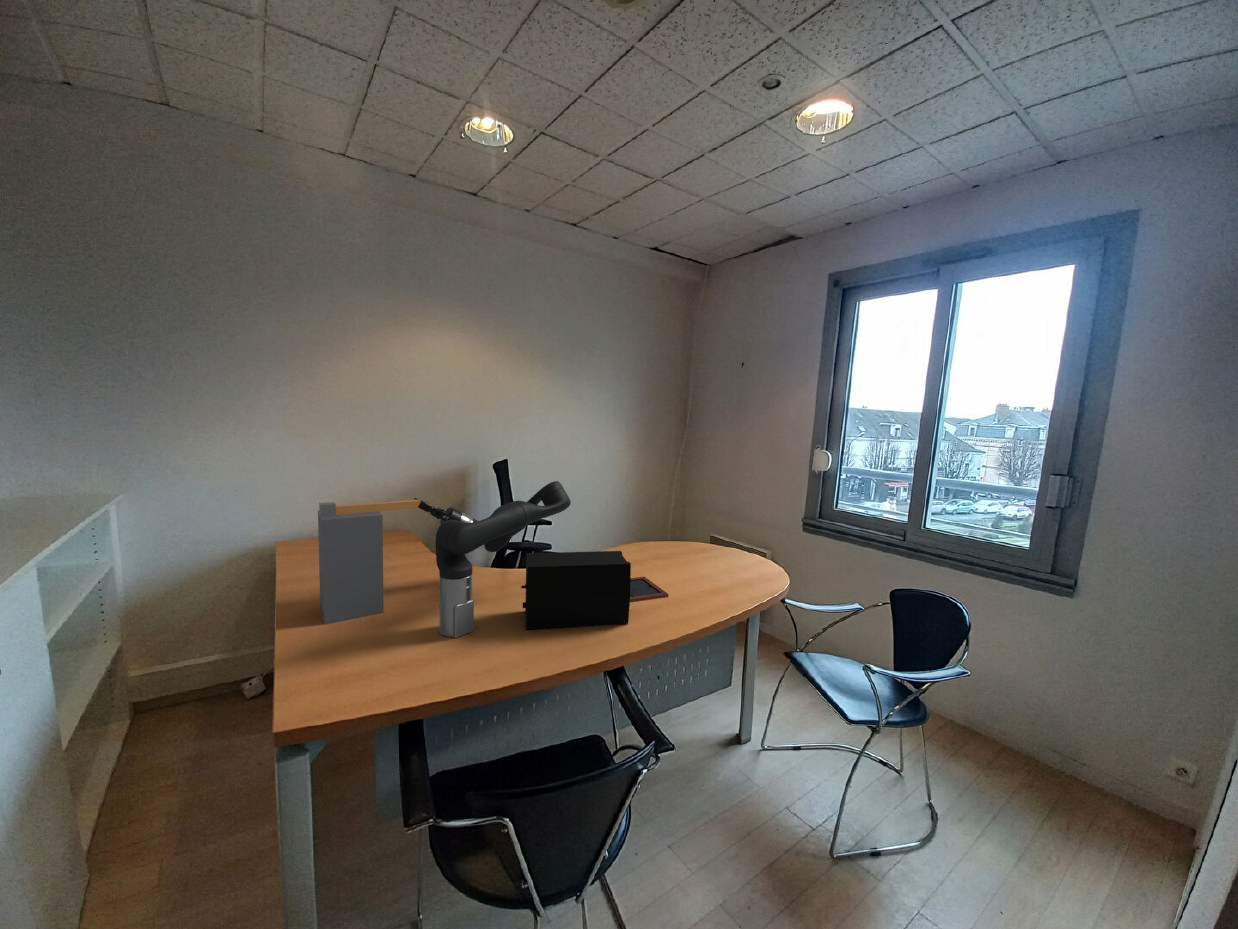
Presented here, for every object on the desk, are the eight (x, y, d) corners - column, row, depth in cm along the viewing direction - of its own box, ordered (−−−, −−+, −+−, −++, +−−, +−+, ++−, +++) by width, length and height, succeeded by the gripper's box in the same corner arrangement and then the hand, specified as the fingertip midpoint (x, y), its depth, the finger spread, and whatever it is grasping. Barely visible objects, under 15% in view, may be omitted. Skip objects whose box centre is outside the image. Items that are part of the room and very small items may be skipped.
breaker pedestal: (375, 595, 158) (374, 506, 155) (384, 612, 145) (383, 514, 142) (320, 606, 148) (317, 510, 145) (324, 624, 135) (322, 520, 132)
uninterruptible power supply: (629, 626, 142) (631, 564, 141) (520, 633, 135) (521, 568, 133) (617, 605, 158) (620, 549, 156) (520, 610, 151) (521, 552, 149)
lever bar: (418, 506, 158) (418, 496, 157) (421, 508, 155) (421, 498, 154) (319, 514, 140) (319, 502, 140) (320, 516, 137) (320, 505, 137)
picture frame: (606, 607, 158) (668, 598, 168) (606, 601, 157) (668, 593, 167) (587, 587, 176) (644, 580, 186) (587, 582, 176) (644, 575, 186)
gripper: (457, 535, 159) (415, 516, 150) (445, 526, 170) (405, 508, 161) (468, 516, 160) (427, 496, 151) (456, 508, 172) (416, 489, 162)
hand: (416, 502), depth 156 cm, fingers open, 8 cm apart
